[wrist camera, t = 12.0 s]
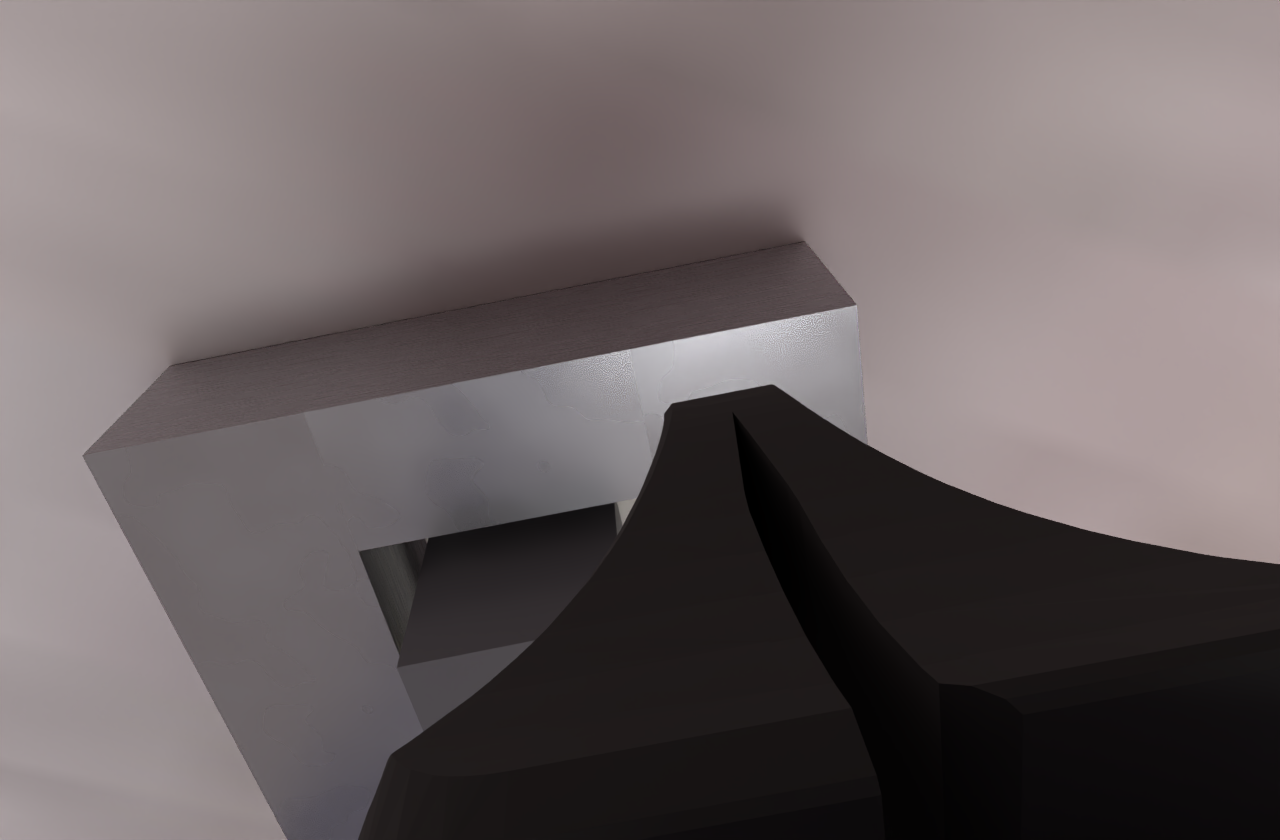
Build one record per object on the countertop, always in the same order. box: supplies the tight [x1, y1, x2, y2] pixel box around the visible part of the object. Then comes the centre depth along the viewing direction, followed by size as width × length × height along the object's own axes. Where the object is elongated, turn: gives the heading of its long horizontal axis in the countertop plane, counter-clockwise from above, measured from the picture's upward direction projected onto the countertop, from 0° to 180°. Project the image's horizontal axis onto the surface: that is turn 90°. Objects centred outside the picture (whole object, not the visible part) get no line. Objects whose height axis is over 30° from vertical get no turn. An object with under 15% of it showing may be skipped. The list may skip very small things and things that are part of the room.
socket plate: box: [83, 242, 867, 840], centre depth 21 cm, size 14×13×4 cm
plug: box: [397, 502, 623, 731], centre depth 19 cm, size 4×5×6 cm
